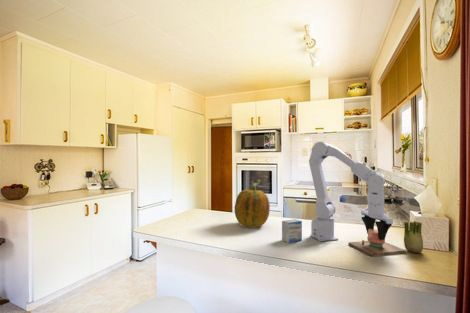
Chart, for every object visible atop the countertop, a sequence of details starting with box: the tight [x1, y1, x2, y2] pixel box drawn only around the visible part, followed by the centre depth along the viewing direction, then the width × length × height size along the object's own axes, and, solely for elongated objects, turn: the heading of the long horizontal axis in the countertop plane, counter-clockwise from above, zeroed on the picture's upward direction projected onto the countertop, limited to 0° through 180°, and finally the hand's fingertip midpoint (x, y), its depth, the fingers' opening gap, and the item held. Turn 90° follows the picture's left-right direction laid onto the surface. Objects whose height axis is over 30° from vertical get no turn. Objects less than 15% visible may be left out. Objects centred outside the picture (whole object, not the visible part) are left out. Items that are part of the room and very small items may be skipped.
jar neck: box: [369, 242, 383, 248], centre depth 92 cm, size 5×5×2 cm
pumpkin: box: [234, 178, 271, 228], centre depth 122 cm, size 19×19×25 cm
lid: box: [366, 229, 386, 244], centre depth 92 cm, size 6×6×4 cm
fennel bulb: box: [403, 220, 424, 254], centre depth 90 cm, size 6×5×12 cm
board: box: [348, 239, 407, 257], centre depth 92 cm, size 16×12×2 cm
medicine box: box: [281, 218, 303, 244], centre depth 101 cm, size 8×4×9 cm, turn 117°
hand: (375, 237), depth 92 cm, fingers closed on lid, 5 cm apart
